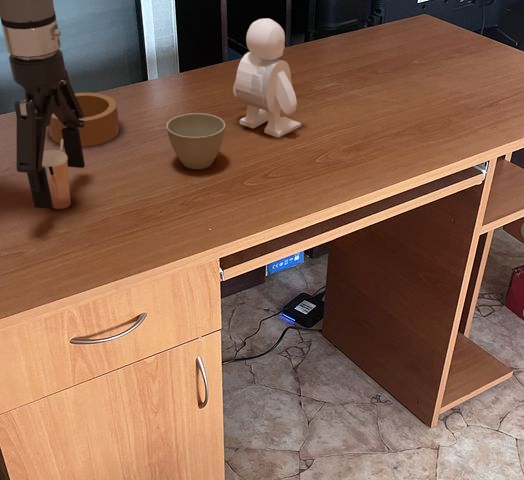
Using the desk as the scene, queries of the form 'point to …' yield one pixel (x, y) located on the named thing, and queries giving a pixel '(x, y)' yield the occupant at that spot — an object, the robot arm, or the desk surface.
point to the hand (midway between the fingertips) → (60, 186)
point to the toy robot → (266, 80)
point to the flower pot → (196, 138)
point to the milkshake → (57, 176)
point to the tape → (91, 120)
